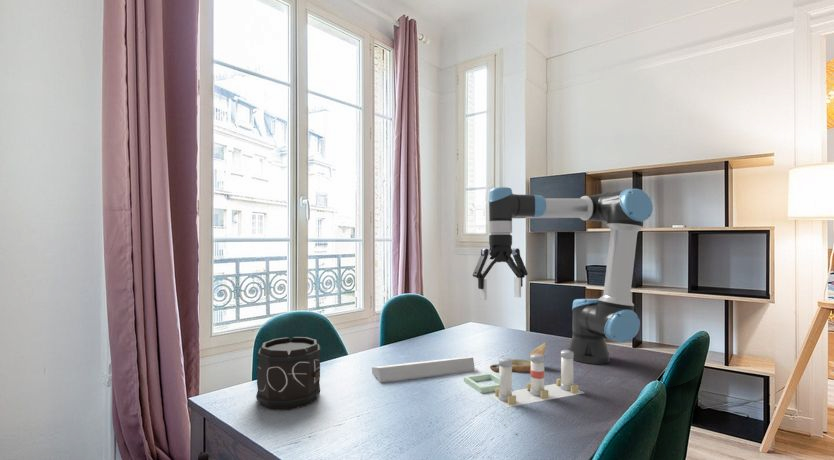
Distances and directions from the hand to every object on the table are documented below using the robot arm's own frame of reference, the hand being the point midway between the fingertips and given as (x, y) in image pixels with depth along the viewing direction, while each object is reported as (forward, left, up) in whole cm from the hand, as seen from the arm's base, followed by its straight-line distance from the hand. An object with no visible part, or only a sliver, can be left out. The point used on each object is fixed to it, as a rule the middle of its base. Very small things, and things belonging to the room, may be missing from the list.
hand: (500, 298), depth 134 cm
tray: (+10, +7, -26) cm, 29 cm away
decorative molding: (+21, -15, -27) cm, 38 cm away
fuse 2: (-11, +19, -25) cm, 33 cm away
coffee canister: (+66, -7, -27) cm, 72 cm away
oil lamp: (-9, -2, -27) cm, 28 cm away
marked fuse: (0, +19, -25) cm, 31 cm away
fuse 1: (+11, +19, -25) cm, 33 cm away
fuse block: (0, +19, -26) cm, 32 cm away
